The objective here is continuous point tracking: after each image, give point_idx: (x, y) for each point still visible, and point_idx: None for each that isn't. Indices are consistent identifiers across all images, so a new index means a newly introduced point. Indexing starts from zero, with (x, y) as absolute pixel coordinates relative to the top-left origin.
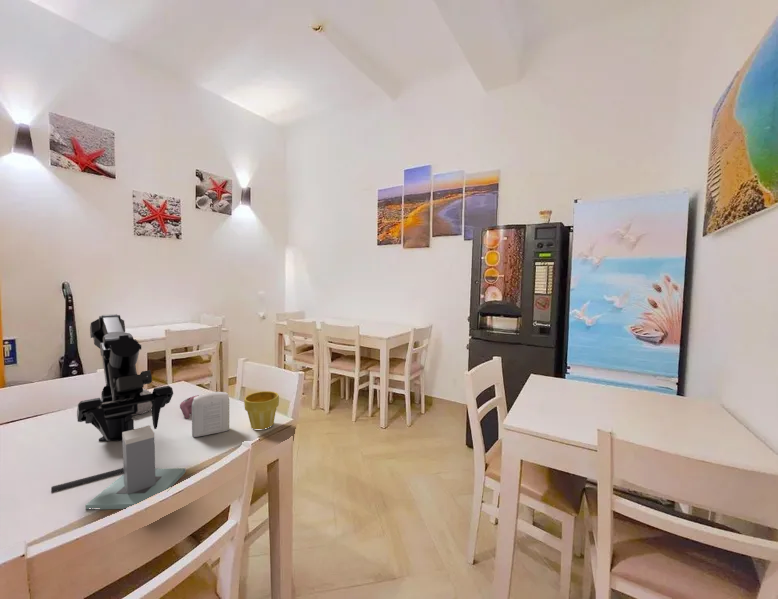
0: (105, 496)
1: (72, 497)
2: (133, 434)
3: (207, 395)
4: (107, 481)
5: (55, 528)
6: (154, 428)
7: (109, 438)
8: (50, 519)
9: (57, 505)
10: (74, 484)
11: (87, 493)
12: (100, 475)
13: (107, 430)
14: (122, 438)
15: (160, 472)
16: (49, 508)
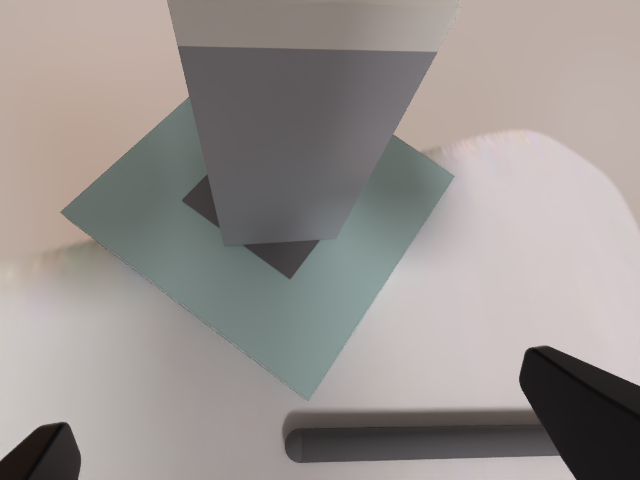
0: (397, 190)
1: (509, 313)
2: None
3: None
4: (400, 374)
5: (505, 138)
6: (77, 456)
7: (533, 349)
8: (535, 199)
9: (543, 283)
10: (534, 425)
11: (462, 309)
12: (440, 433)
13: (628, 398)
14: (428, 61)
15: (178, 249)
16: (562, 278)
